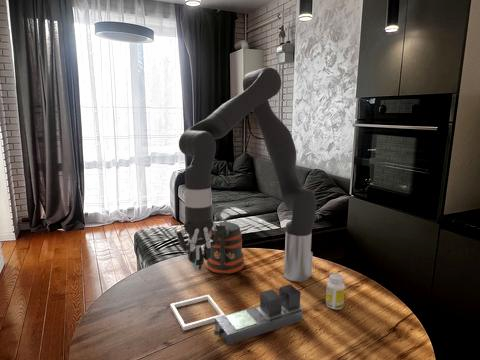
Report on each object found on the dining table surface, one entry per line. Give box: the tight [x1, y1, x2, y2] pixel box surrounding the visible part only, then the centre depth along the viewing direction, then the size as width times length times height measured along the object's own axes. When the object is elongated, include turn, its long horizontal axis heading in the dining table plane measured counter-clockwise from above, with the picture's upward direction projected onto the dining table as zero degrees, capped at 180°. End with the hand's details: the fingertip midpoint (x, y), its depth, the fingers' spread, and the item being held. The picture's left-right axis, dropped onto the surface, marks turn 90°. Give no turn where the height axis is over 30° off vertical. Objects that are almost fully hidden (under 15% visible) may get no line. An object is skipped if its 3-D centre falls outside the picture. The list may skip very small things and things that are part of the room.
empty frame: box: [169, 294, 226, 332], centre depth 101 cm, size 13×13×1 cm
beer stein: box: [206, 219, 245, 275], centre depth 128 cm, size 19×15×20 cm
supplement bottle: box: [325, 273, 346, 310], centre depth 105 cm, size 5×5×10 cm
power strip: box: [213, 284, 304, 346], centre depth 95 cm, size 27×8×8 cm, turn 117°
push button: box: [192, 238, 206, 272], centre depth 97 cm, size 7×5×10 cm
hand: (199, 260), depth 98 cm, fingers closed on push button, 3 cm apart
